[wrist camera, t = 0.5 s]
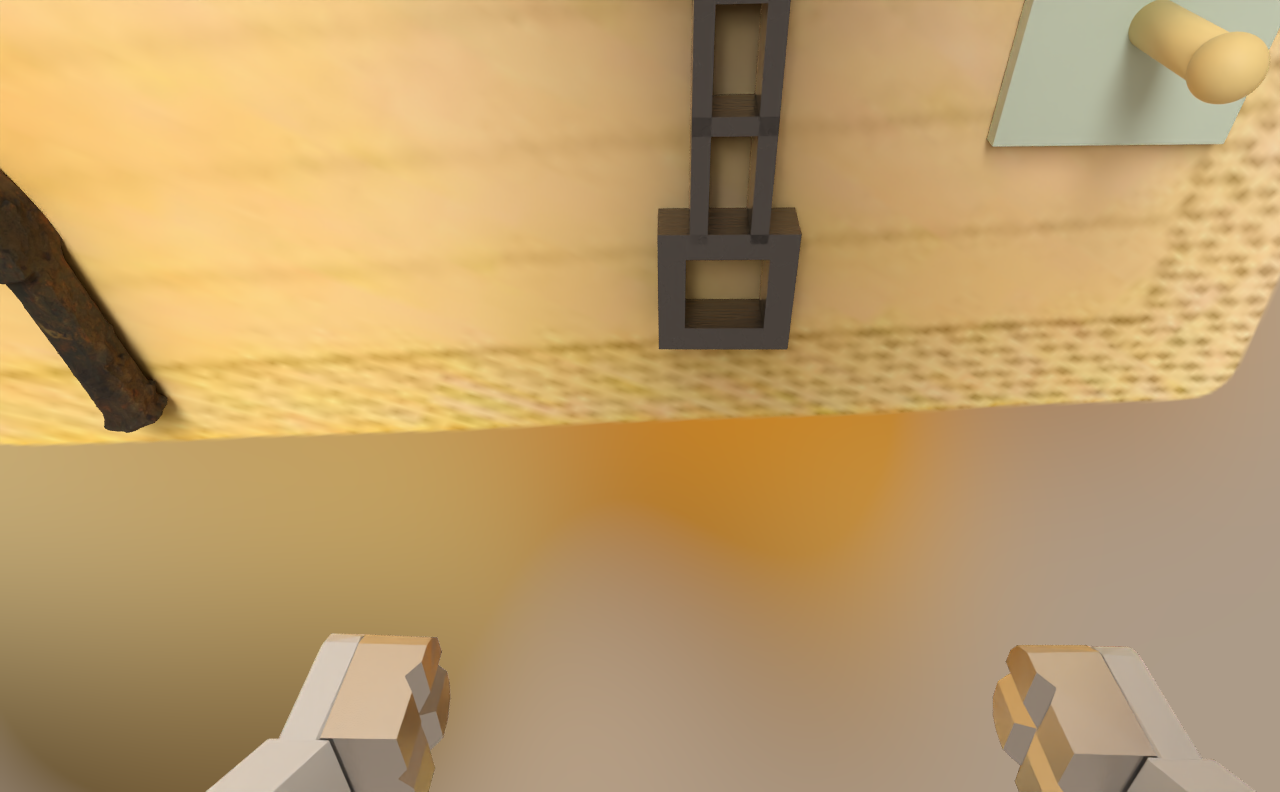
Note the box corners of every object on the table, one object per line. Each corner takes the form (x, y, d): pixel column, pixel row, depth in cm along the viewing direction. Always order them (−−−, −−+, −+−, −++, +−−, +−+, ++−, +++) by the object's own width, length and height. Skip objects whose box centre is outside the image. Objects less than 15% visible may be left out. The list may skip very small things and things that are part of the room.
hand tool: (179, 398, 57) (147, 442, 54) (128, 400, 57) (92, 443, 54) (37, 154, 45) (-17, 189, 41) (-28, 156, 45) (-87, 191, 42)
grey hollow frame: (782, 319, 50) (787, 349, 48) (659, 319, 50) (658, 349, 48) (822, -39, 37) (833, -23, 34) (655, -35, 37) (653, -19, 34)
